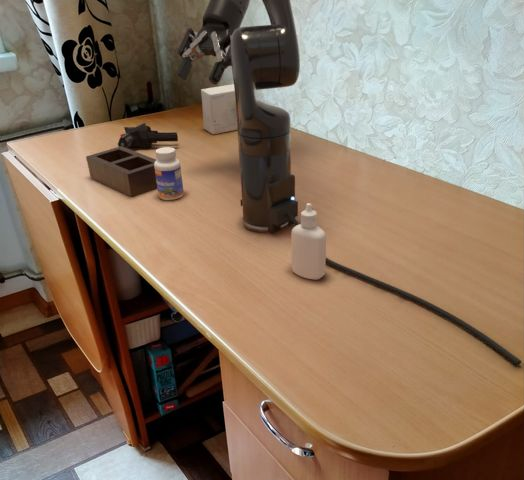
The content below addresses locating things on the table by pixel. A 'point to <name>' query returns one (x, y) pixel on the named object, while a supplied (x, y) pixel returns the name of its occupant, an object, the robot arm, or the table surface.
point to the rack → (123, 170)
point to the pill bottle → (168, 174)
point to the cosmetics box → (219, 109)
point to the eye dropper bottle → (308, 246)
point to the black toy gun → (144, 137)
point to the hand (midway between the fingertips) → (196, 80)
